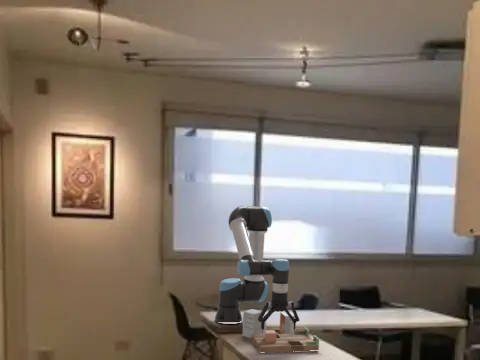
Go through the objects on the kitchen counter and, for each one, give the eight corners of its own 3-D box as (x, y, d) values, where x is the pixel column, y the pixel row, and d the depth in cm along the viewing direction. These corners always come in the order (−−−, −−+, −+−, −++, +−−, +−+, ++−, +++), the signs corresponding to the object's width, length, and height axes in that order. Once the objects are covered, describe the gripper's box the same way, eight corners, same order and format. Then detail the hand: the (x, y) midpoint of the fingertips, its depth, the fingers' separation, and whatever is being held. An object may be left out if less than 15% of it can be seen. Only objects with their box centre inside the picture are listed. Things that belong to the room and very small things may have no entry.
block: (263, 338, 237) (263, 330, 237) (273, 338, 238) (273, 330, 238) (266, 341, 232) (266, 333, 232) (276, 341, 233) (276, 333, 233)
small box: (279, 332, 259) (280, 312, 259) (289, 331, 260) (290, 311, 260) (284, 336, 251) (285, 316, 251) (294, 336, 252) (295, 315, 252)
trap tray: (251, 340, 242) (252, 328, 242) (305, 339, 248) (306, 327, 248) (260, 353, 225) (261, 339, 225) (318, 351, 230) (319, 338, 231)
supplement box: (250, 333, 255) (251, 308, 255) (262, 336, 250) (263, 311, 250) (241, 336, 249) (242, 311, 249) (253, 339, 244) (254, 313, 244)
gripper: (256, 293, 230) (254, 338, 229) (307, 293, 235) (305, 338, 234) (252, 289, 237) (250, 334, 237) (302, 289, 242) (300, 333, 242)
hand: (277, 336), depth 236 cm, fingers open, 13 cm apart
